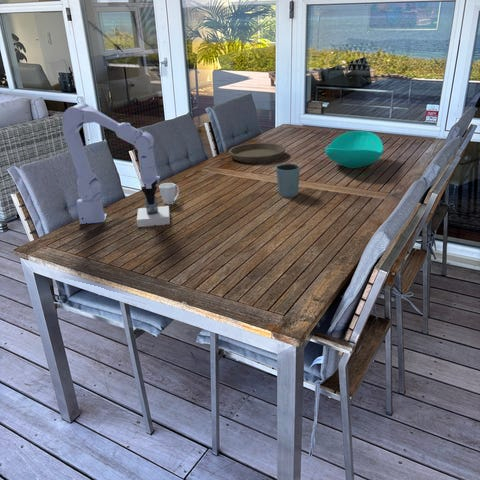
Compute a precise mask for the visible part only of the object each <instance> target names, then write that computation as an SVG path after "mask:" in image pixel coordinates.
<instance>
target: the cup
mask: <svg viewBox="0 0 480 480" xmlns="http://www.w3.org/2000/svg"><path fill="white" fill-rule="evenodd" d="M158 189H159V191H160V197H161V198H162V201H163V203H164V202H165V203H170V204H172V205H174V204H175V201H176V200H177V199H178V197H179V195H180V188H179V185H178V184H175V183H174V182H164V183H161V184H160V185H158ZM176 189H177V192H176ZM173 201H174V202H173ZM171 202H172V203H171ZM173 203H174V204H173Z"/></svg>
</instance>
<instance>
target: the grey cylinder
mask: <svg viewBox="0 0 480 480" xmlns="http://www.w3.org/2000/svg"><path fill="white" fill-rule="evenodd" d="M144 202H145V208H146V211H147V214H149V215H153V214H157V213H158V207H159V205H158V197H157V196H156V195H155V202H154V204H152V205H149V204H148V202H147V199H146V196H145V198H144Z"/></svg>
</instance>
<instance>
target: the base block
mask: <svg viewBox="0 0 480 480" xmlns="http://www.w3.org/2000/svg"><path fill="white" fill-rule="evenodd" d="M170 214H171V212H170V205H164V206H163V205H162V206H158V213H157V214H153V215H149V214H147V211H146V207H142V208H141V207H139V208H137V216H136V224H137V228H143V227H144V228H145V227H154V225H156V226H164V225H165V226H166V224H167V225H170V224H171V215H170Z"/></svg>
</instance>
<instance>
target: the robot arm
mask: <svg viewBox="0 0 480 480" xmlns="http://www.w3.org/2000/svg"><path fill="white" fill-rule="evenodd" d="M62 117H63V120H62V127H61V131H62V134H63V136H64V140H65V143H66V147H67V148H68V152H69V153H70V157H71V159H72V163H73V165H74V168H75V171H76V175H77V181H76V185H77V195H78V197H79V198H78V199H77V200H76V210H77V214H78V220H79V224H80V225H83V224H84V225H86V223H87V224H99V223H105V221H106V219H107V213H105V212H104V205H103V199H102V194H101V192H102V190H103V184H102V182H101V180H99V178H98V176H97V174H96V173H95V172H94V171H93V170H92V167H91V164H90V162H89V158H88V155H87V152H86V150H85V146H84V143H83V139H82V137H81V134H80V131H81V128H82V127H83V126H84V124H92V123H94V124H97V125H100V126H102V127H105V129H109V130H110V131H113V132H115V134H116V136H117V138H120V139H121V140H123V141H125V142H127V143H129V144H131V145H133V146H134V148H135V149H136V151H137V158H138V165H139V166H138V167H139V172H140V181H141V182H142V184H143V186H141V192H143V194H144V196H145V197H146V199H147V202H148V204H149V205H152V204H154V202H155V196H156V191H157V189H158V186H156V185H157V181H158V180H160V179H161V177H160V175H157V171H156V162H155V161H156V160H155V154H154V143H155V138H154V136H153V135H152V134H151V133H150V132H149V131H143V130H142V129H138V128H135V127H134V126H132V124H131V123H130V122H125V121H124V122H118V121H116V120H114V119H113V118H111V117H109V116H108V115H106V114H104V113H102V112H101V111H100V110H98V109H96V108H95V107H94V106H92V105H89V104H87V103H85V102H80V103H77V104H76V105H74V106H70V107H67V109H65V111H64V113H62Z"/></svg>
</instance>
